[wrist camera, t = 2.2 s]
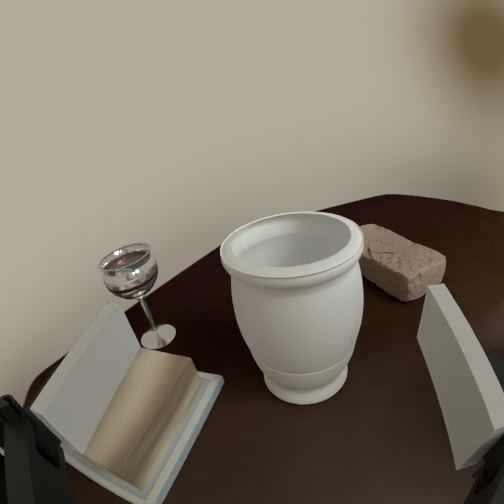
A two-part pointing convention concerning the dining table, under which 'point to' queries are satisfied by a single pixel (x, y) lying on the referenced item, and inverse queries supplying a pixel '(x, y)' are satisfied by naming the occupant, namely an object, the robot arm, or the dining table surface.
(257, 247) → the jar
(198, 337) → the dining table surface
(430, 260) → the brick
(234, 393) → the dining table surface
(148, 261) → the wineglass
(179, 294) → the dining table surface
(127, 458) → the plinth
